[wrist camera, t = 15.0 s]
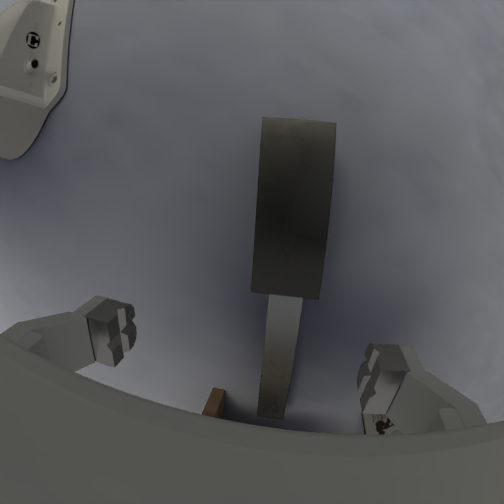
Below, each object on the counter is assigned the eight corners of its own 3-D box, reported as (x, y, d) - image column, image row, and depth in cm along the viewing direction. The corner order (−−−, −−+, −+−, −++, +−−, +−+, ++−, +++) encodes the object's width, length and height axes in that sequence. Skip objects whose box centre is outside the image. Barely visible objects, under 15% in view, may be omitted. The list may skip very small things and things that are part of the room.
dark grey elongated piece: (274, 133, 22) (262, 117, 15) (326, 138, 21) (336, 123, 15) (254, 395, 28) (240, 445, 22) (292, 400, 28) (287, 451, 21)
